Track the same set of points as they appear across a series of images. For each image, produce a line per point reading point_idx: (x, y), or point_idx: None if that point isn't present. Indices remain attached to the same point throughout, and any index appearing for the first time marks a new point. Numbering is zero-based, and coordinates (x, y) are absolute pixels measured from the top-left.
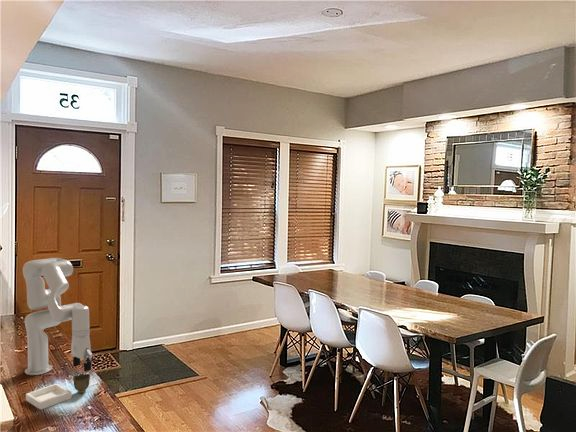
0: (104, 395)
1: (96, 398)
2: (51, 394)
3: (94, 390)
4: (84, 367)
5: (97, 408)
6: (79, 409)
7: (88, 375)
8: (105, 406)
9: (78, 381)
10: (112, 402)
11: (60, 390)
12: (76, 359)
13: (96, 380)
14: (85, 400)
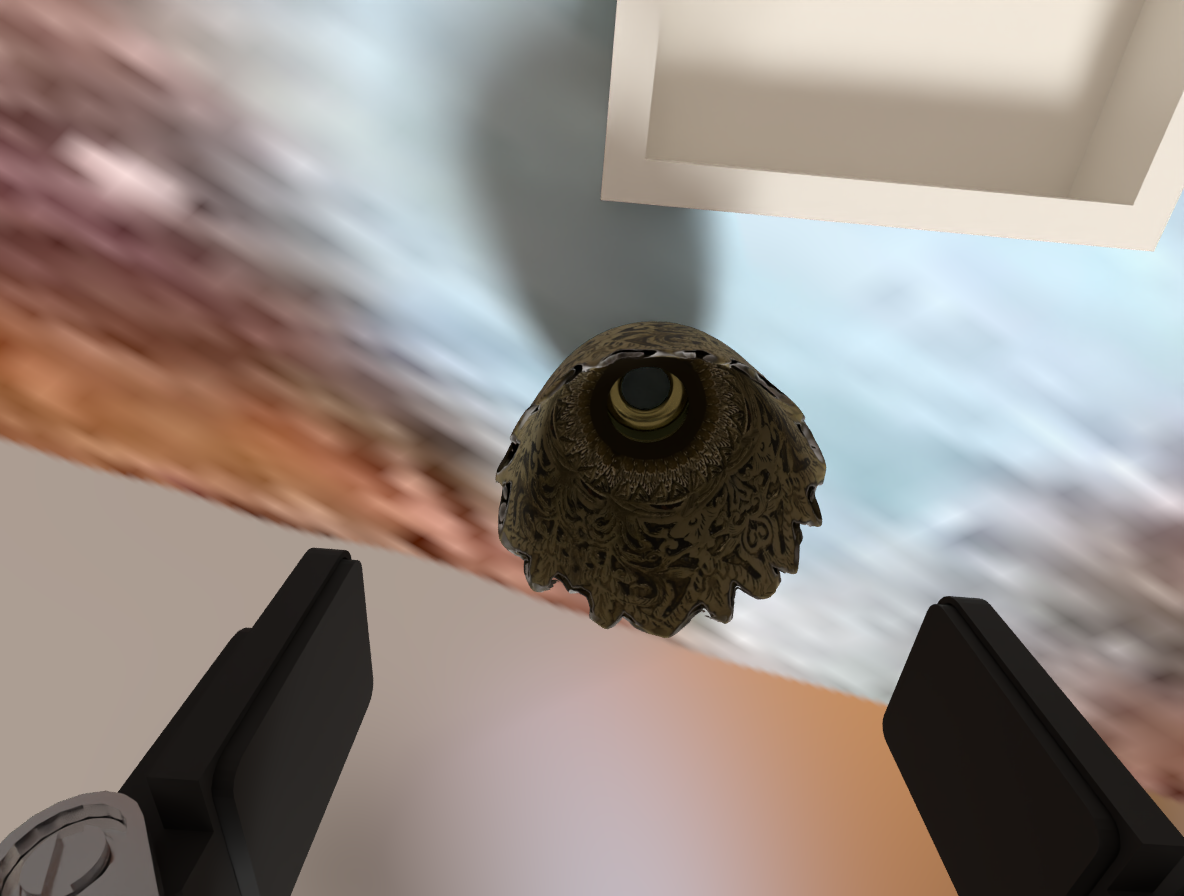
0: (336, 485)
1: (326, 386)
2: (998, 36)
3: None
4: (250, 631)
5: (14, 212)
6: (141, 20)
7: (641, 608)
8: (15, 311)
9: (565, 370)
10: (79, 424)
11: (918, 184)
12: (1027, 850)
13: (783, 659)
14: (376, 267)
